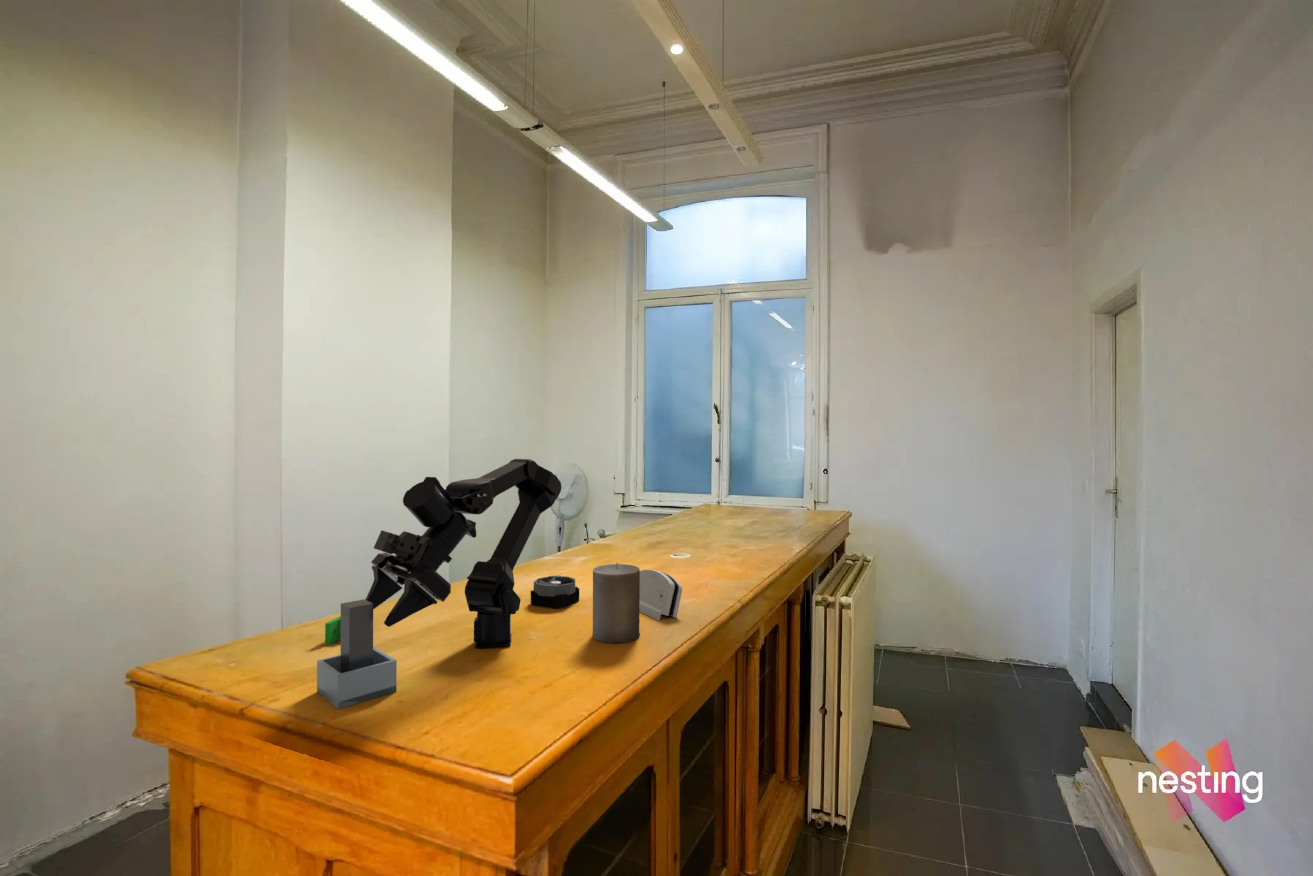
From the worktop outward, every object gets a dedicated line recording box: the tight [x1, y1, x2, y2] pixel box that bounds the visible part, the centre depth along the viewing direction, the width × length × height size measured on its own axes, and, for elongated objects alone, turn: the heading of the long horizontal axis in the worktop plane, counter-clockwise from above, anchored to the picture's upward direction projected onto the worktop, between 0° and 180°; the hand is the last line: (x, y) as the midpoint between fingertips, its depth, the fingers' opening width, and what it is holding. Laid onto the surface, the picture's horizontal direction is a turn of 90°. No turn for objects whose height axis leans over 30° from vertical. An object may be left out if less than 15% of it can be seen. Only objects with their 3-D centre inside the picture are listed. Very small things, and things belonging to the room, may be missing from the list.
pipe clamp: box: [324, 615, 341, 646], centre depth 126 cm, size 10×4×4 cm, turn 174°
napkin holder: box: [639, 569, 683, 621], centre depth 147 cm, size 17×5×10 cm, turn 32°
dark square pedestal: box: [340, 598, 374, 673], centre depth 99 cm, size 5×5×13 cm
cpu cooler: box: [530, 574, 580, 610], centre depth 152 cm, size 10×6×10 cm
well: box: [316, 646, 398, 710], centre depth 100 cm, size 9×9×5 cm
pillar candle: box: [592, 562, 641, 644], centre depth 128 cm, size 10×10×15 cm
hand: (374, 618), depth 101 cm, fingers open, 9 cm apart
